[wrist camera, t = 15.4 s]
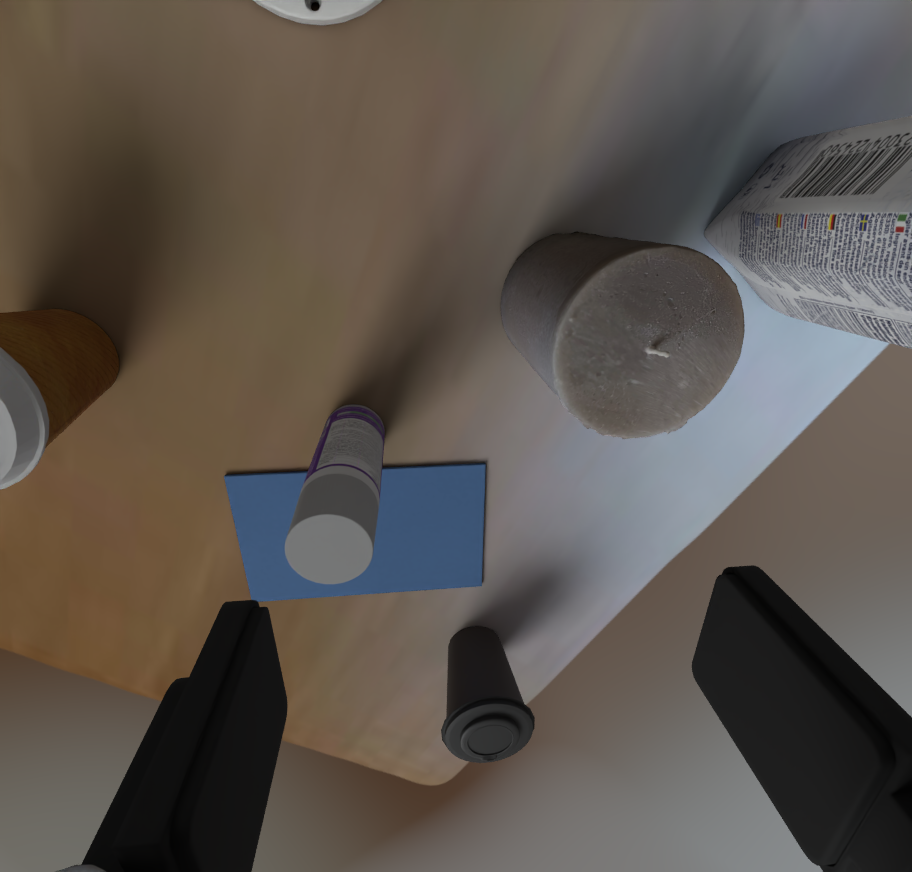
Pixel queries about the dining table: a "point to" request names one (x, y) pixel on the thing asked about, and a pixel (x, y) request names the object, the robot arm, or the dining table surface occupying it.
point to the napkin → (396, 540)
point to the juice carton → (830, 230)
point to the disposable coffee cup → (47, 381)
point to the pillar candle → (624, 329)
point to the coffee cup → (483, 700)
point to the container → (339, 499)
